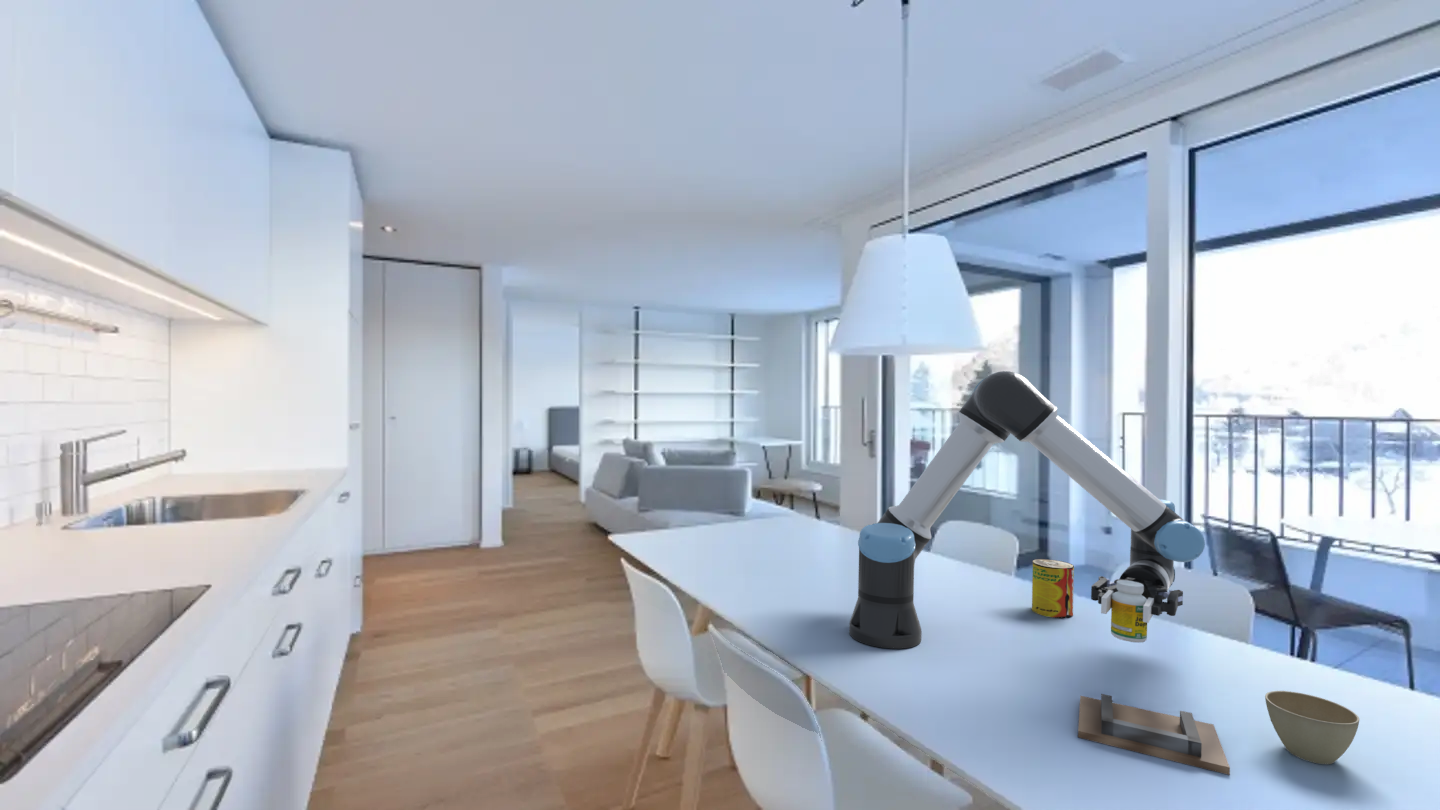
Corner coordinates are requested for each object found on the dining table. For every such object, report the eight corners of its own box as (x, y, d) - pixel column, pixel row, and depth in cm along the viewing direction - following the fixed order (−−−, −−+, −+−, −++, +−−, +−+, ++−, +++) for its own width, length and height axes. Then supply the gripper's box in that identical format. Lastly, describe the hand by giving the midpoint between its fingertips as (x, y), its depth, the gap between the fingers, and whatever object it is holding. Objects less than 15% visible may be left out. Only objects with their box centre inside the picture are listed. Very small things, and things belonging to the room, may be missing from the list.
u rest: (1078, 737, 95) (1078, 717, 95) (1080, 701, 107) (1080, 683, 107) (1229, 774, 86) (1230, 752, 86) (1213, 730, 98) (1213, 711, 98)
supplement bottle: (1119, 630, 114) (1121, 577, 114) (1152, 639, 110) (1154, 584, 110) (1104, 635, 111) (1106, 581, 111) (1138, 645, 107) (1139, 589, 107)
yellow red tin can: (1050, 619, 150) (1051, 568, 150) (1023, 607, 159) (1024, 559, 159) (1081, 617, 152) (1082, 567, 152) (1053, 605, 161) (1054, 558, 161)
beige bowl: (1246, 738, 96) (1247, 691, 96) (1306, 736, 97) (1307, 689, 97) (1313, 776, 86) (1314, 723, 86) (1379, 774, 87) (1380, 722, 87)
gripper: (1202, 613, 118) (1191, 646, 101) (1090, 592, 130) (1063, 618, 113) (1203, 573, 118) (1192, 599, 101) (1091, 556, 130) (1064, 576, 113)
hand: (1124, 609), depth 107 cm, fingers closed on supplement bottle, 5 cm apart
